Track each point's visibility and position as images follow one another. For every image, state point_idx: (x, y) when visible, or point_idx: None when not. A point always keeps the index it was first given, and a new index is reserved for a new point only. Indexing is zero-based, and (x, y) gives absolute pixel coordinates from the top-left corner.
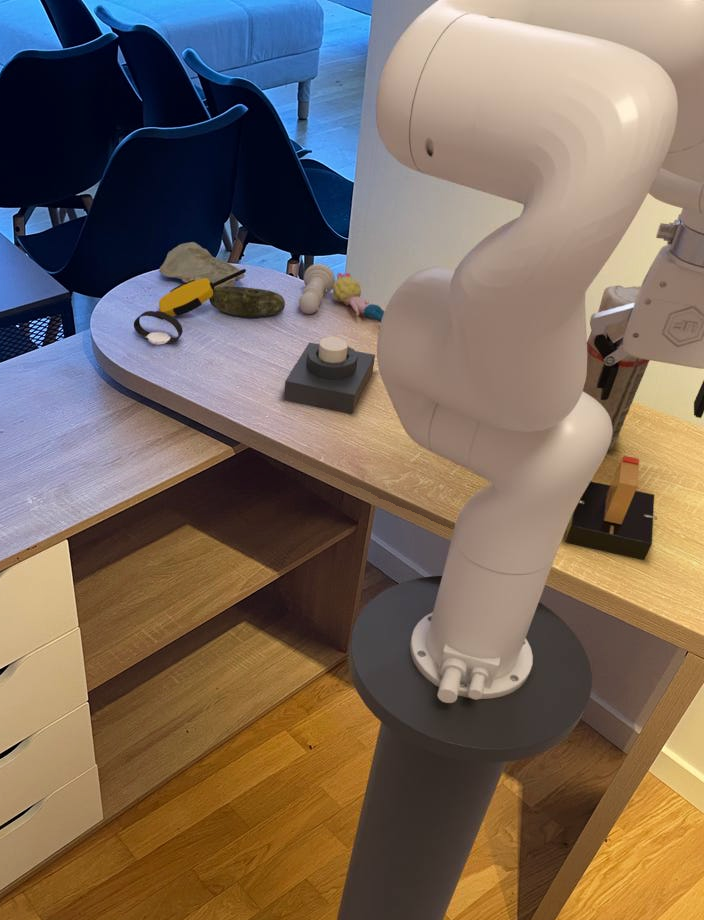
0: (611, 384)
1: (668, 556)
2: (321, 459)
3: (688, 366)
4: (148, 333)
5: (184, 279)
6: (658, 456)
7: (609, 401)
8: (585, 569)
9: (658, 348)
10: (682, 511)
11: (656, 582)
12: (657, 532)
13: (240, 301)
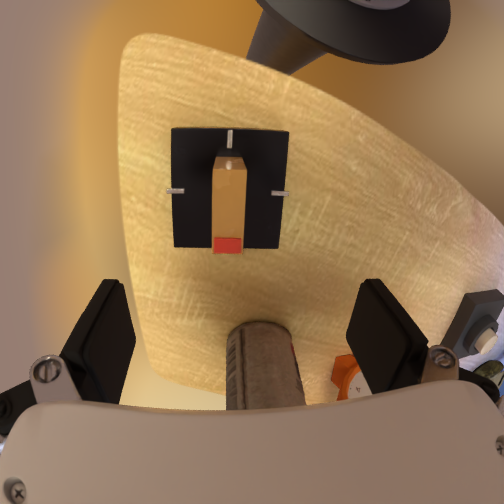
0: (386, 309)
1: (146, 149)
2: (494, 218)
3: (168, 409)
4: None
5: (499, 373)
6: (178, 338)
7: (259, 375)
8: (254, 82)
9: (394, 455)
10: (138, 250)
11: (161, 88)
12: (162, 195)
13: (492, 368)
